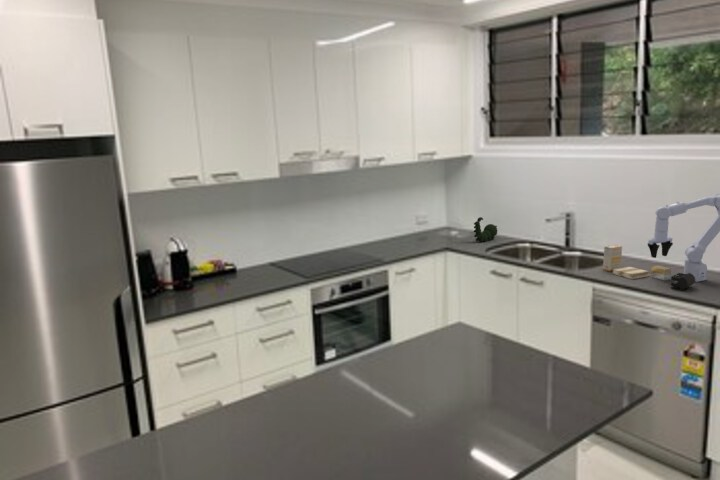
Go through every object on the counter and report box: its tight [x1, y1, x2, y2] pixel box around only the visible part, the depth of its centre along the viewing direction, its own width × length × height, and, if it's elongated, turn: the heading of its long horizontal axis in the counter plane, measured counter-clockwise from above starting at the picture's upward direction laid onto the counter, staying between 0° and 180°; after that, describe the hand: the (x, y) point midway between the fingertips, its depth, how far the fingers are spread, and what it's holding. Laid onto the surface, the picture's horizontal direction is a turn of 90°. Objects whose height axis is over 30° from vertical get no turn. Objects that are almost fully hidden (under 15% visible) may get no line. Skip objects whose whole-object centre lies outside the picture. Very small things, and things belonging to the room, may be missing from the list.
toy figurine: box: [473, 217, 498, 243], centre depth 375 cm, size 9×19×25 cm
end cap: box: [670, 272, 696, 291], centre depth 253 cm, size 10×7×7 cm
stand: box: [612, 266, 650, 280], centre depth 278 cm, size 12×12×2 cm
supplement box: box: [602, 244, 623, 272], centre depth 289 cm, size 8×5×13 cm, turn 111°
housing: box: [650, 265, 672, 281], centre depth 271 cm, size 8×5×6 cm, turn 23°
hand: (659, 256), depth 273 cm, fingers open, 7 cm apart
